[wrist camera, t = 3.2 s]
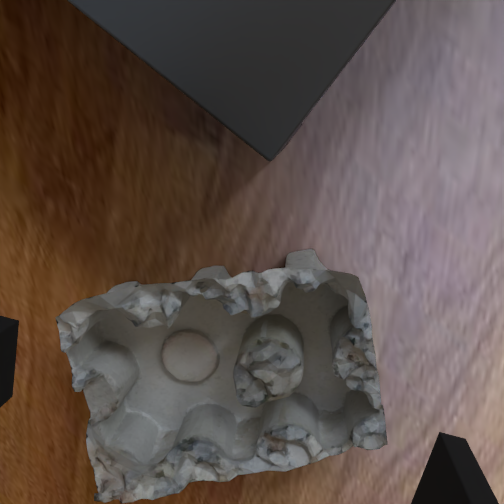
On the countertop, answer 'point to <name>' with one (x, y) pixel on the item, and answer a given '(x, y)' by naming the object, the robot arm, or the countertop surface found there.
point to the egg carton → (223, 376)
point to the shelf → (244, 54)
